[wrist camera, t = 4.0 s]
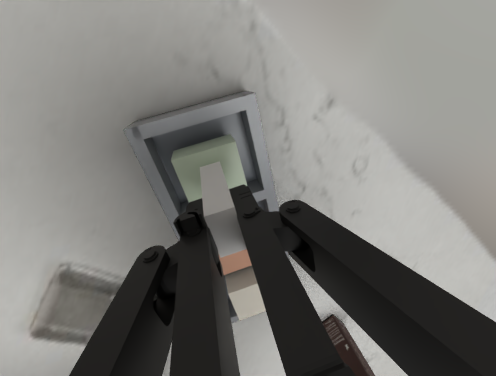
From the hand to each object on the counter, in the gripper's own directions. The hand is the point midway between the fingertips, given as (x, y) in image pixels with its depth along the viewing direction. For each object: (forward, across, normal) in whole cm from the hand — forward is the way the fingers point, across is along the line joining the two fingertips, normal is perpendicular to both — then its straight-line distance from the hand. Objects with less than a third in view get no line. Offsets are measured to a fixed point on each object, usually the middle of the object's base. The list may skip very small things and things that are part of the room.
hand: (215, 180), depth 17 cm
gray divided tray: (+6, 0, -8) cm, 10 cm away
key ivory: (+3, 0, -15) cm, 15 cm away
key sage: (+3, 0, 0) cm, 3 cm away
